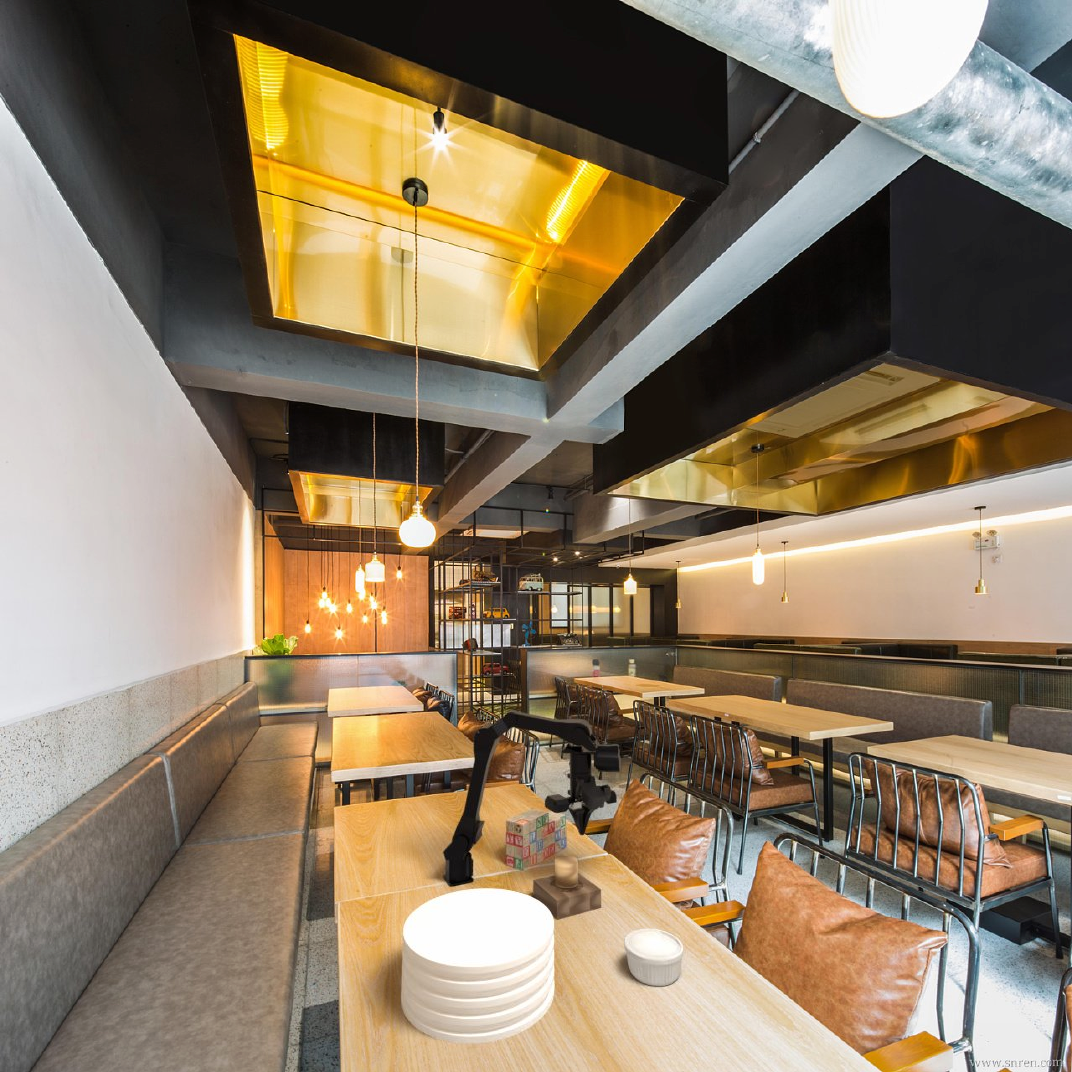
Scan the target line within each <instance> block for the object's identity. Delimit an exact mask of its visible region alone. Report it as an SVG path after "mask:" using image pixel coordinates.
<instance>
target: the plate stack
mask: <svg viewBox="0 0 1072 1072" xmlns="http://www.w3.org/2000/svg"><path fill="white" fill-rule="evenodd" d="M554 933H555V920H554V916H553V915H552V914H551V912H550V911H549V909H548V908H547V907H546V906H545V905H544V904H542V903H541V902H540V901H538V900H536V899H535V898H533V896H531V895H528V894H525V893H522V892H518V891H515V890H509V889H503V888H488V887H487V888H485V887H484V888H471V889H463V890H457V891H453V892H448V893H446V894H442V895H440V896H437V897H434V898H432V899H430V900H428V901H425V902H424V903H423V904H421V905H420V906H418V907H417V908H416V909H414V910H413V911H412V912H411V913H410V914H409V915H408V917H407V918H406V920H405V922H404V925H403V928H402V946H401V948H402V949H401V950H402V952H401V953H402V956H401V957H402V959H401V960H402V961H401V984H400V985H401V992H400V1006H401V1009H402V1012H403V1014H404V1016H405V1018H406V1017H407V1018H406V1019H407V1020H408V1021H410V1022H411V1023H410V1022H409V1023H410V1024H411V1025H412V1026H413V1027H414V1028H416V1029H417V1030H418V1031H420V1032H422V1033H423V1034H425V1035H427V1036H429V1037H432V1038H434V1039H438V1040H441V1041H444V1042H448V1043H454V1044H455V1043H456V1044H468V1045H469V1044H482V1043H483V1044H485V1043H491V1042H496V1041H500V1040H504V1039H508V1038H511V1037H513V1036H516V1035H518V1034H520V1033H522V1032H523V1031H525V1030H527V1029H529V1028H531V1027H533V1026H534V1025H535V1024H536V1023H537V1022H539V1021H540V1020H541V1019H542V1018H543V1017H544V1016H545V1014H546V1013H547V1012H548V1011H549V1010H550V1007H551V1005H552V1003H553V1000H554V997H555V935H554Z"/></svg>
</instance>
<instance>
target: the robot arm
mask: <svg viewBox="0 0 1072 1072" xmlns="http://www.w3.org/2000/svg"><path fill="white" fill-rule="evenodd" d="M512 728H516V729H521V730H526V731H531V732H534V733H535V732H536V733H540V734H546V735H551V736H553V737H554V736H555V737H557V738H559V739H561V740H563V741H565V742H567V744H566V745H565V747H563V749H562V750H561V754H569V772H568V773H567V774H566V777H567V778H568V779H569V789H567V795H569V796H566V797H565V796H563V795H562V794H559V793H557V794H551V795H546V796H545V797H546V798H545V799H544V808H546V810H549V811H551V812H554V813H560V814H562V813H566V812H567V811H569V813H570V815H571V817H572V820H573V822H574V825H575V827H576V829H577V831H578V834H579V835H580V836H584V835H585V834H586V830H587V827H588V823H589V821H590V819H591V816H592V814H593V812H594V811H596V810H598V809H599V808H600V809H603V808H604V806H605V803H606V804H607V805H611V804H617V802H618V797H617V796H618V795H617V793H616V791H615V790H613V789H611V787H610V785H609V784H602V785H597V782H596V777H595V775H593V769H592V768H595V769H596V770H597V771H598V773H621V755H620V745H619V744H617V743H613V744H602V743H601V744H600V742H599V740H598V739H597V738H596V736H595V735H594V734H593V729H592V726H591V724H590V723H589V721H588V720H586V719H583V718H566V719H565V718H564V719H557V718H553V717H548V716H547V717H546V716H542V715H537V714H533V713H532V714H531V713H527V712H522V711H518V710H516V709H512V710H509V711H507V713H505V715H504V716H503V717H501V718H500V719H498V720H497V721H496V722H494V723H493V724H491V723H489V724H485V725H484V726H483V727H481V728H479V729H477V731H476V732H475V733H474V735H473V748H472V749H473V757H474V759H473V767H472V769H471V770H472V771H471V775H470V779H469V784H468V789H467V793H466V798H465V803H464V807H463V808H464V809H463V812H462V815H461V817H460V819H459V821H458V824H457V825H456V828H455V831H454V833H453V836H452V839H451V842H450V843H449V844H448V846H446V848H445V849H444V850H443V852H442V854H443V856H444V860H445V867H444V868H445V869H444V870H445V871H444V872H445V873H444V874H442V878H443V879H444V880H445V882H447V884H448V885H449V886H450V887H453V886H458V885H463V884H467V883H472V882H474V881H475V879H474V877H473V876H474V859H473V857H472V856H473V854H472V853H471V852H470V851H472V849H473V847H475V845H477V844H478V842H479V840H480V839H481V838H482V836H483V828H484V825H485V822H486V821H485V820H483V819H481V817H480V811H481V806H482V802H483V797H484V792H485V787H486V783H487V778H488V773H489V770H490V769H489V768H490V764H491V761H492V758H493V756H494V754H495V752H496V750H497V747H498V744H499V742H500V739H501V736H503V734H505V733H506V732H508V731H509V730H511V729H512ZM592 755H593V761H592ZM592 762H593V763H592ZM592 764H593V765H592Z"/></svg>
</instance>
